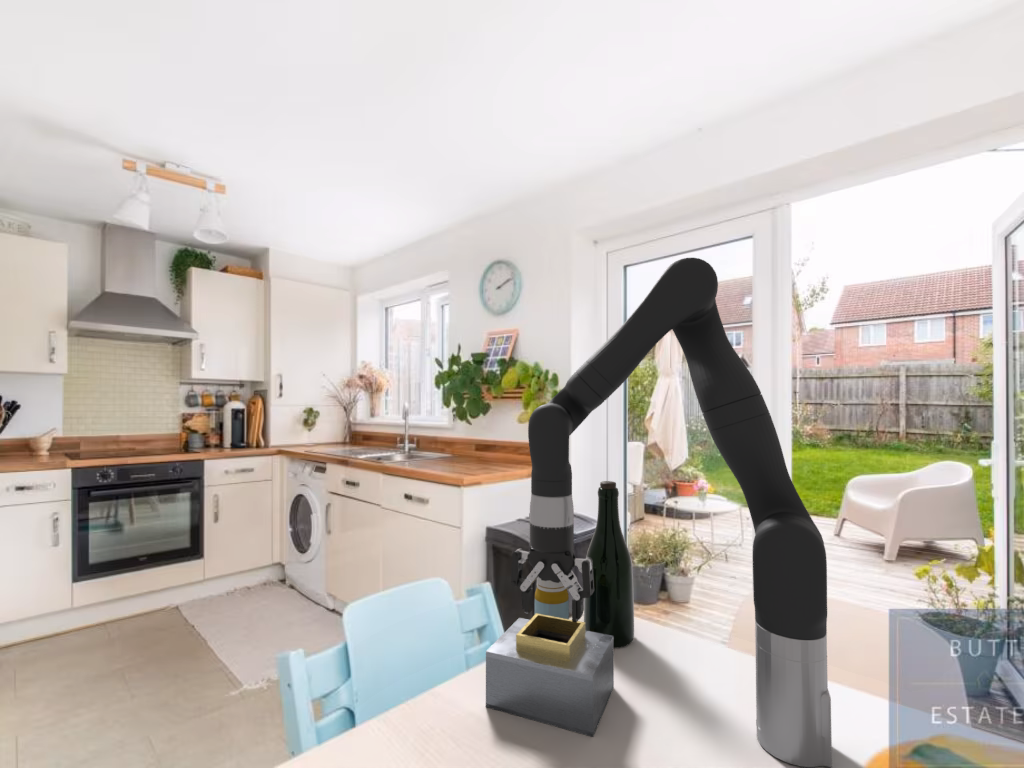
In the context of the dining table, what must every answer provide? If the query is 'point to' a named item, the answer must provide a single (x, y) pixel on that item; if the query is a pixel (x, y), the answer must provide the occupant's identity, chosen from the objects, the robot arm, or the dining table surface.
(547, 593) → the bottle
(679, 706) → the dining table surface
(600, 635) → the grey box with opening
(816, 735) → the robot arm
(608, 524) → the dark green wine bottle
